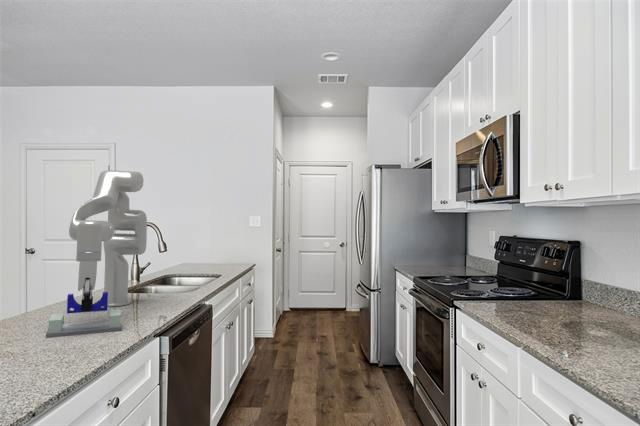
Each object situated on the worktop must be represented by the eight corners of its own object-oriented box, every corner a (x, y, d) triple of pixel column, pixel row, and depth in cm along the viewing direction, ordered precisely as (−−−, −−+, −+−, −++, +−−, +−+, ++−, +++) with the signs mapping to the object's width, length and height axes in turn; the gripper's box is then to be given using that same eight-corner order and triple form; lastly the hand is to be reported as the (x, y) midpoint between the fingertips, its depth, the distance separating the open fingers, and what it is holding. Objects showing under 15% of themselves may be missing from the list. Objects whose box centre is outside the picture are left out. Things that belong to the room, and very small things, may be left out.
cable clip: (107, 307, 144) (107, 291, 144) (107, 310, 140) (107, 293, 140) (67, 310, 138) (68, 293, 138) (66, 313, 134) (67, 295, 134)
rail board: (50, 328, 139) (50, 313, 139) (120, 322, 149) (121, 308, 150) (45, 337, 128) (46, 321, 129) (122, 330, 139) (122, 315, 139)
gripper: (77, 254, 145) (75, 305, 145) (74, 259, 130) (72, 315, 130) (101, 254, 149) (99, 303, 148) (101, 258, 134) (98, 313, 133)
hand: (86, 308), depth 139 cm, fingers closed on cable clip, 4 cm apart
